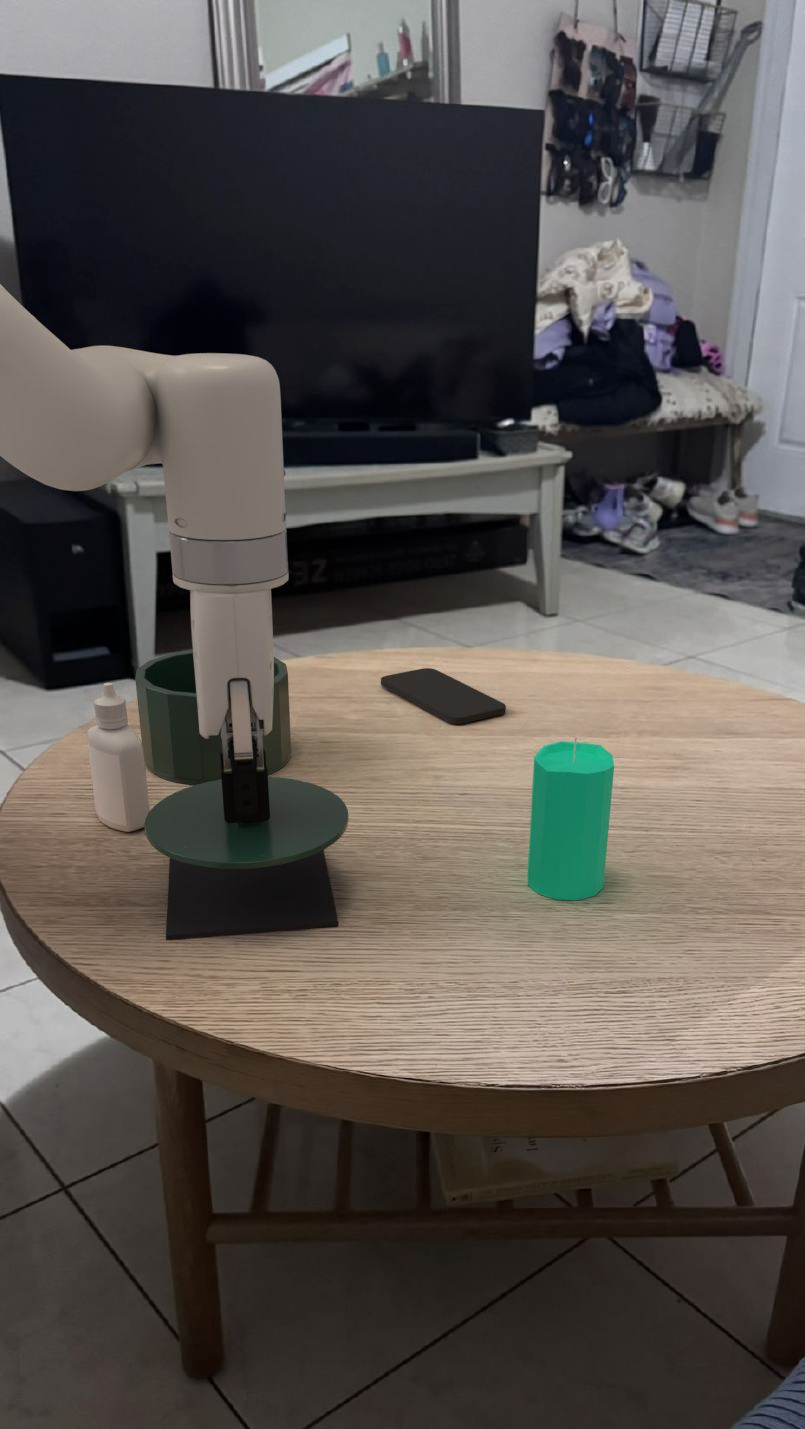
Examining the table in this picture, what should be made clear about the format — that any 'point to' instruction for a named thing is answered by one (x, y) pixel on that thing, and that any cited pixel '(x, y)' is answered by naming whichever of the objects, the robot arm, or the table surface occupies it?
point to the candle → (569, 820)
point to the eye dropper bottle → (117, 765)
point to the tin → (196, 722)
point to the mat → (249, 898)
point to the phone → (443, 695)
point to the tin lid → (246, 826)
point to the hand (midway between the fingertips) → (246, 809)
